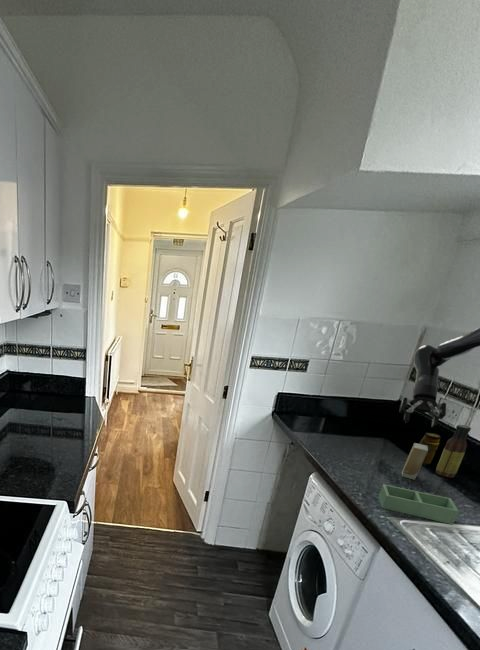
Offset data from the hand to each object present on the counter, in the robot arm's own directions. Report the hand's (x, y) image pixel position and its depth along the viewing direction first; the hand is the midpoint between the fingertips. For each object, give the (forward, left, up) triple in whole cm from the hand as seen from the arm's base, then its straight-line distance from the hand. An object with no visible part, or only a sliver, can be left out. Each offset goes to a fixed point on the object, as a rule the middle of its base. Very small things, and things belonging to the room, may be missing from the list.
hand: (420, 424), depth 159 cm
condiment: (-7, -10, -18) cm, 22 cm away
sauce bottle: (-13, +1, -18) cm, 22 cm away
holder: (+3, +43, -18) cm, 46 cm away
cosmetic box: (0, +11, -18) cm, 21 cm away
